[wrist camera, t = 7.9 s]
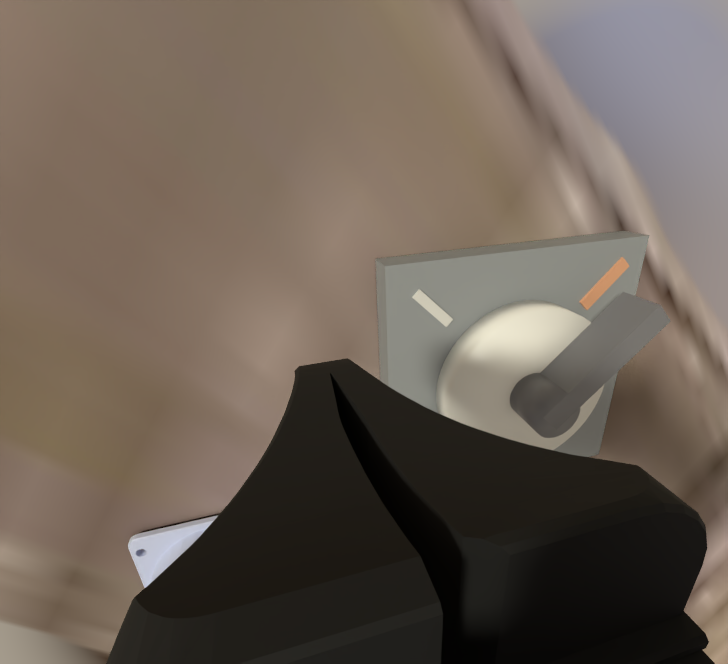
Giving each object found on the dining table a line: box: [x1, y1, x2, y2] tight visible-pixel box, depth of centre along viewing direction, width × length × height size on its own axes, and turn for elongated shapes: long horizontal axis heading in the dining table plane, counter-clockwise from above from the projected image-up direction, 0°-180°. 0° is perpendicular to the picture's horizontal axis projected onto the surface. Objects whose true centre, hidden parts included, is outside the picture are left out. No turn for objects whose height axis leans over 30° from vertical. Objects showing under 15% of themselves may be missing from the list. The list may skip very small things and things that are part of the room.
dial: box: [436, 292, 670, 450], centre depth 20 cm, size 11×9×4 cm
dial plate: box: [376, 231, 649, 457], centre depth 23 cm, size 14×14×2 cm
